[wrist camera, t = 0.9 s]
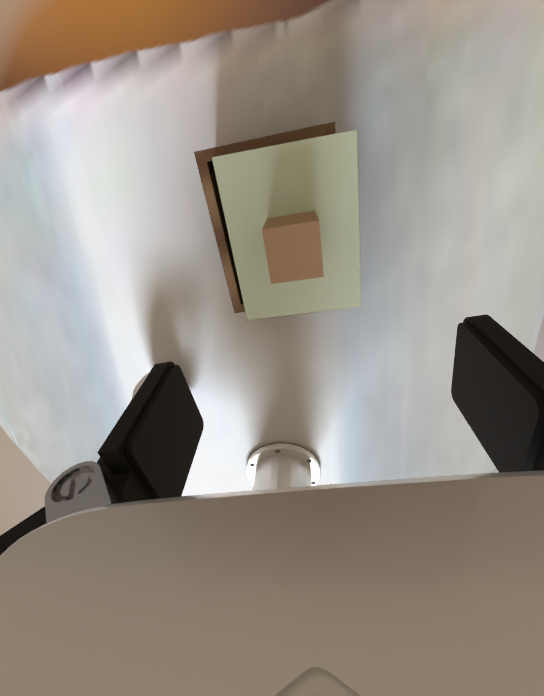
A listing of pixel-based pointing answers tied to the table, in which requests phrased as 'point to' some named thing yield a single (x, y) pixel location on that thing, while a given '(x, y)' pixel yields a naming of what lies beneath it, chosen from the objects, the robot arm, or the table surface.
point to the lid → (294, 224)
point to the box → (215, 201)
